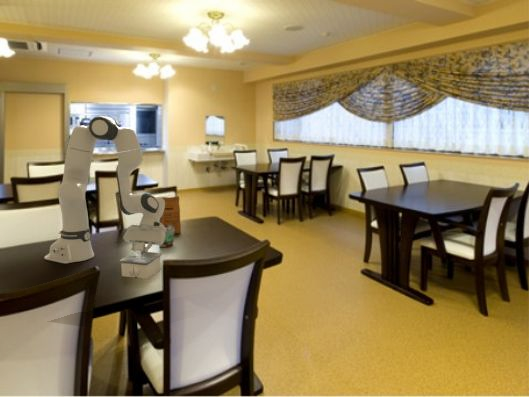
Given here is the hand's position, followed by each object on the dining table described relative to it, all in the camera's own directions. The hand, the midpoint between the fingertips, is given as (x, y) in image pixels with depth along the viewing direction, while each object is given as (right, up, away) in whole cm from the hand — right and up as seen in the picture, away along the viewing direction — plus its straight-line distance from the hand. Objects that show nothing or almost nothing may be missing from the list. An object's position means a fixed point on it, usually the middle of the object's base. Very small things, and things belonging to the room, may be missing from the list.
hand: (139, 250), depth 187 cm
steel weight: (0, -5, +1) cm, 5 cm away
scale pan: (+6, -1, -15) cm, 16 cm away
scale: (+6, -8, -14) cm, 17 cm away
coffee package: (+3, +4, +49) cm, 49 cm away
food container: (+8, -1, +24) cm, 25 cm away
